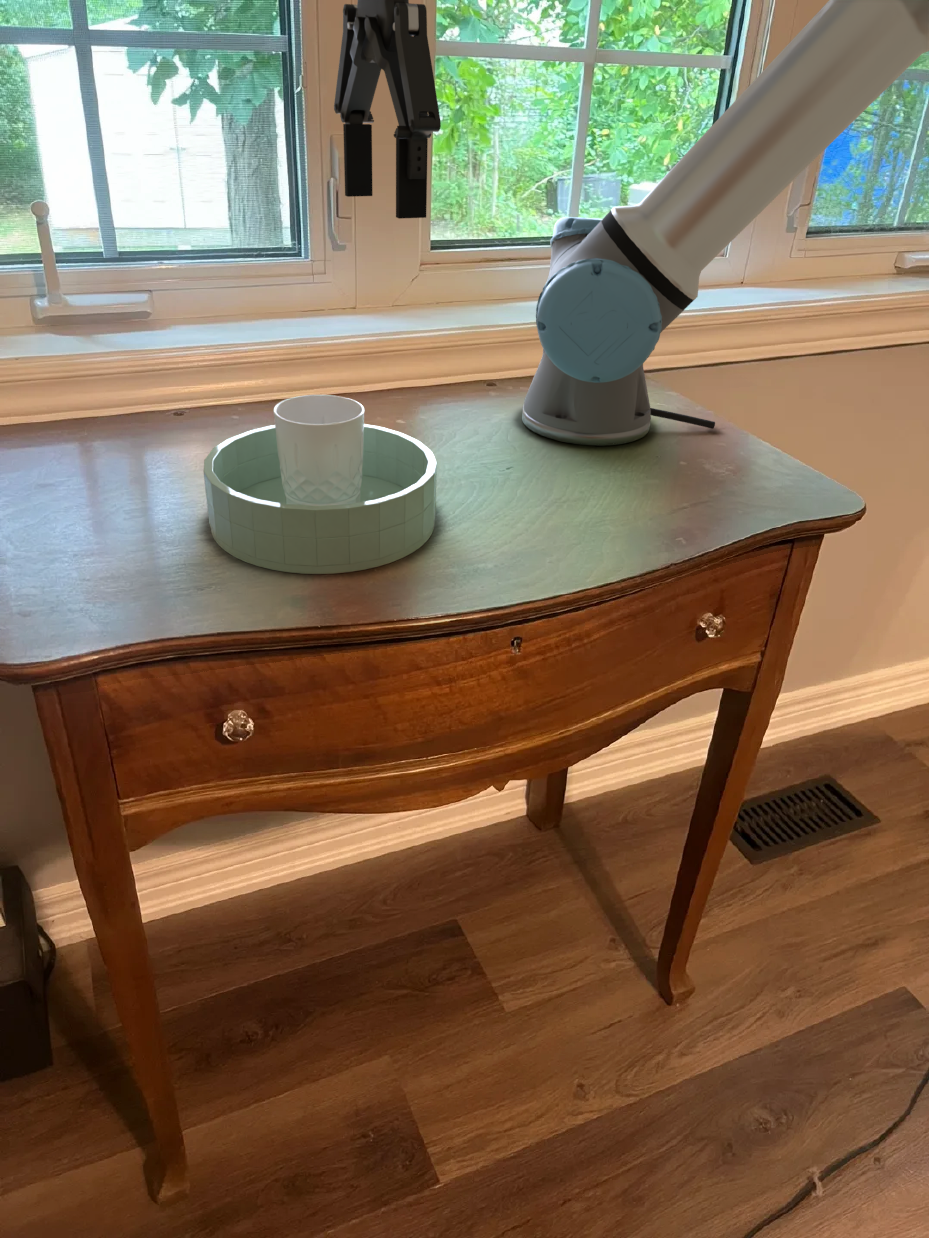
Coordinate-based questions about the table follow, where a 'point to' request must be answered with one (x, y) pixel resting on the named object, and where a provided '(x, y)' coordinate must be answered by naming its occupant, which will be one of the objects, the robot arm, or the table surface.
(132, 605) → the table surface
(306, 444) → the white cup
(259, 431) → the bowl
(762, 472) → the table surface
